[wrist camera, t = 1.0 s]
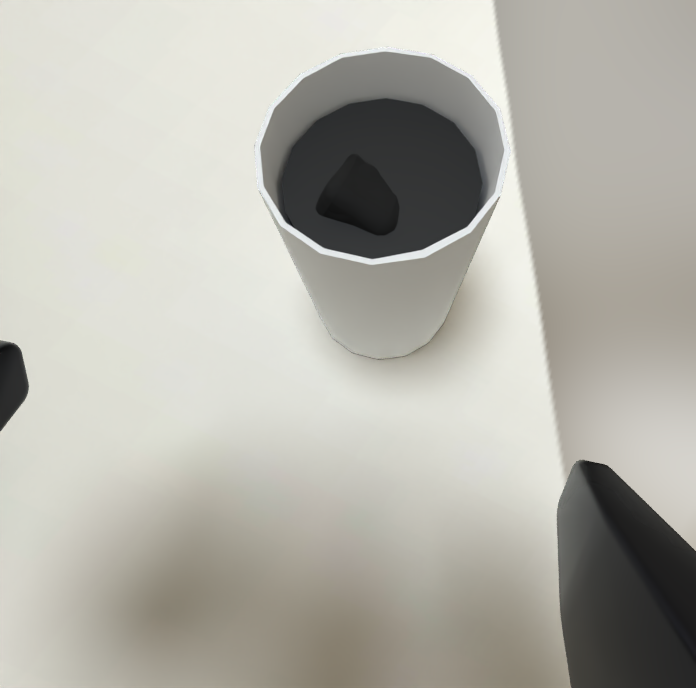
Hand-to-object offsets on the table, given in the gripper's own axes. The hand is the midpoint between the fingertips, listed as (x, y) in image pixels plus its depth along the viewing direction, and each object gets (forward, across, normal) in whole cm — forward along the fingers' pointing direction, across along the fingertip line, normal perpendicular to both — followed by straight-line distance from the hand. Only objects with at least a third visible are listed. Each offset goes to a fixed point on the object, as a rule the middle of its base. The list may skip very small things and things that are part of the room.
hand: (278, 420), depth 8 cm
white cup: (+15, 0, +4) cm, 16 cm away
